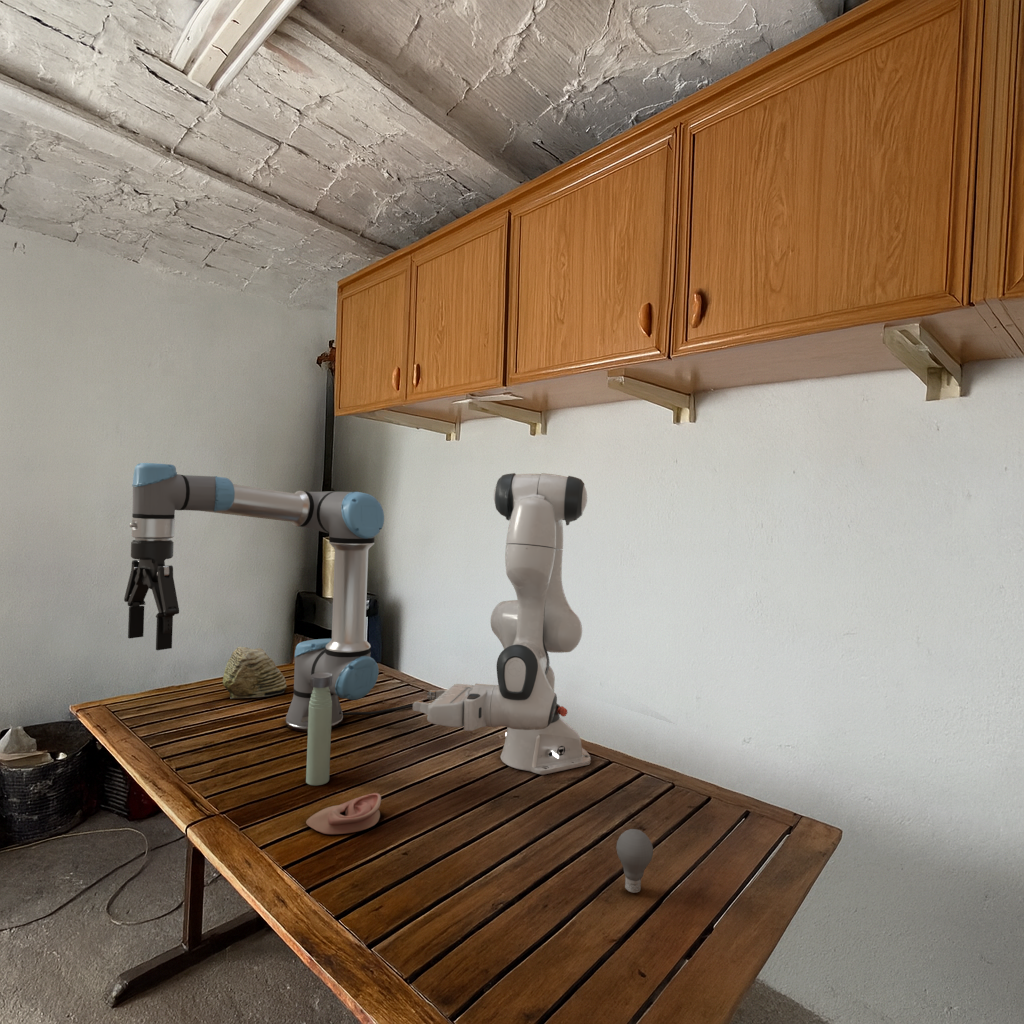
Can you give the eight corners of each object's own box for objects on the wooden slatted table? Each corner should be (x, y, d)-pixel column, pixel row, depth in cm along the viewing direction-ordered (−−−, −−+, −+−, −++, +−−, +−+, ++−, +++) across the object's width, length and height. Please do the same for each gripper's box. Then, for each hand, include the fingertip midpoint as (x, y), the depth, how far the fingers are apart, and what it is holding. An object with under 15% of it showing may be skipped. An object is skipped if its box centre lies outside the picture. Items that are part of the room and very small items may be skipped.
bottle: (334, 779, 142) (338, 676, 142) (317, 787, 138) (322, 681, 137) (317, 773, 145) (321, 672, 144) (301, 782, 140) (305, 677, 140)
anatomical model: (298, 809, 120) (327, 783, 131) (297, 830, 120) (327, 802, 131) (363, 819, 117) (388, 791, 128) (362, 840, 117) (387, 811, 128)
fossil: (218, 695, 195) (220, 647, 195) (278, 685, 208) (279, 640, 207) (228, 703, 189) (230, 653, 188) (289, 692, 201) (290, 645, 201)
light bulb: (610, 879, 108) (613, 822, 108) (644, 879, 109) (647, 822, 109) (619, 902, 102) (622, 840, 102) (655, 901, 103) (658, 840, 103)
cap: (336, 684, 142) (337, 674, 142) (321, 689, 138) (322, 679, 138) (321, 680, 144) (321, 671, 144) (305, 685, 140) (306, 675, 140)
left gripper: (108, 535, 134) (105, 635, 134) (159, 544, 118) (155, 657, 118) (146, 534, 140) (143, 630, 140) (200, 543, 124) (196, 651, 124)
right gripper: (492, 679, 148) (436, 675, 151) (469, 702, 128) (405, 697, 131) (492, 706, 148) (435, 702, 151) (469, 734, 128) (404, 728, 130)
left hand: (149, 643), depth 129 cm, fingers open, 13 cm apart
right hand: (421, 700), depth 140 cm, fingers open, 8 cm apart
